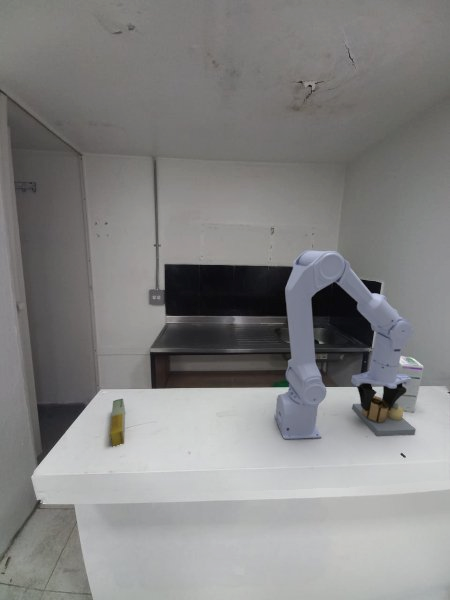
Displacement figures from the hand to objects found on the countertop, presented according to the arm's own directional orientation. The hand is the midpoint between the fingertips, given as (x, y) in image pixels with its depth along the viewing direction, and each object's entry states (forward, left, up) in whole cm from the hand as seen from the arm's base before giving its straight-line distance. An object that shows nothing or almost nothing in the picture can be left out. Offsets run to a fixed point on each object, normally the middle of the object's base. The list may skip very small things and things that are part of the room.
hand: (375, 408), depth 61 cm
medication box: (-66, +1, -4) cm, 66 cm away
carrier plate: (+2, 0, -4) cm, 5 cm away
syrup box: (+12, +6, -4) cm, 14 cm away
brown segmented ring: (0, 0, -2) cm, 2 cm away
